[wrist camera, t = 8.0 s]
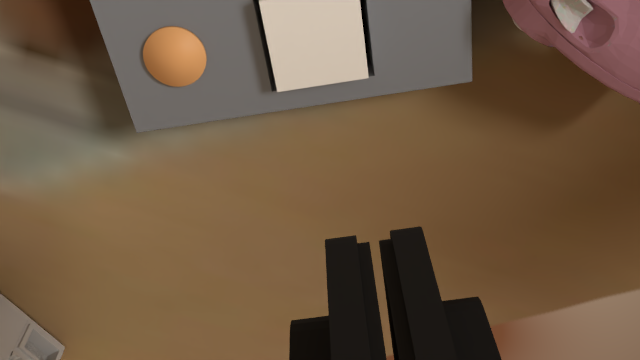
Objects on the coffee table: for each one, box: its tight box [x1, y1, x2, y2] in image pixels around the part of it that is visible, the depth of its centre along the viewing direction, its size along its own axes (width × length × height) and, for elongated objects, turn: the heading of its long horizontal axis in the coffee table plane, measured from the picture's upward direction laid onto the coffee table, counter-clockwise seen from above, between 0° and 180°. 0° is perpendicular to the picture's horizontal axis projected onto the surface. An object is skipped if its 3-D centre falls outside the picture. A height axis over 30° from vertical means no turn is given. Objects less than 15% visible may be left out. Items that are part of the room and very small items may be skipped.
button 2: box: [259, 0, 369, 92], centre depth 24 cm, size 4×4×3 cm
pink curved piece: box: [502, 0, 640, 103], centre depth 23 cm, size 10×5×7 cm, turn 60°
